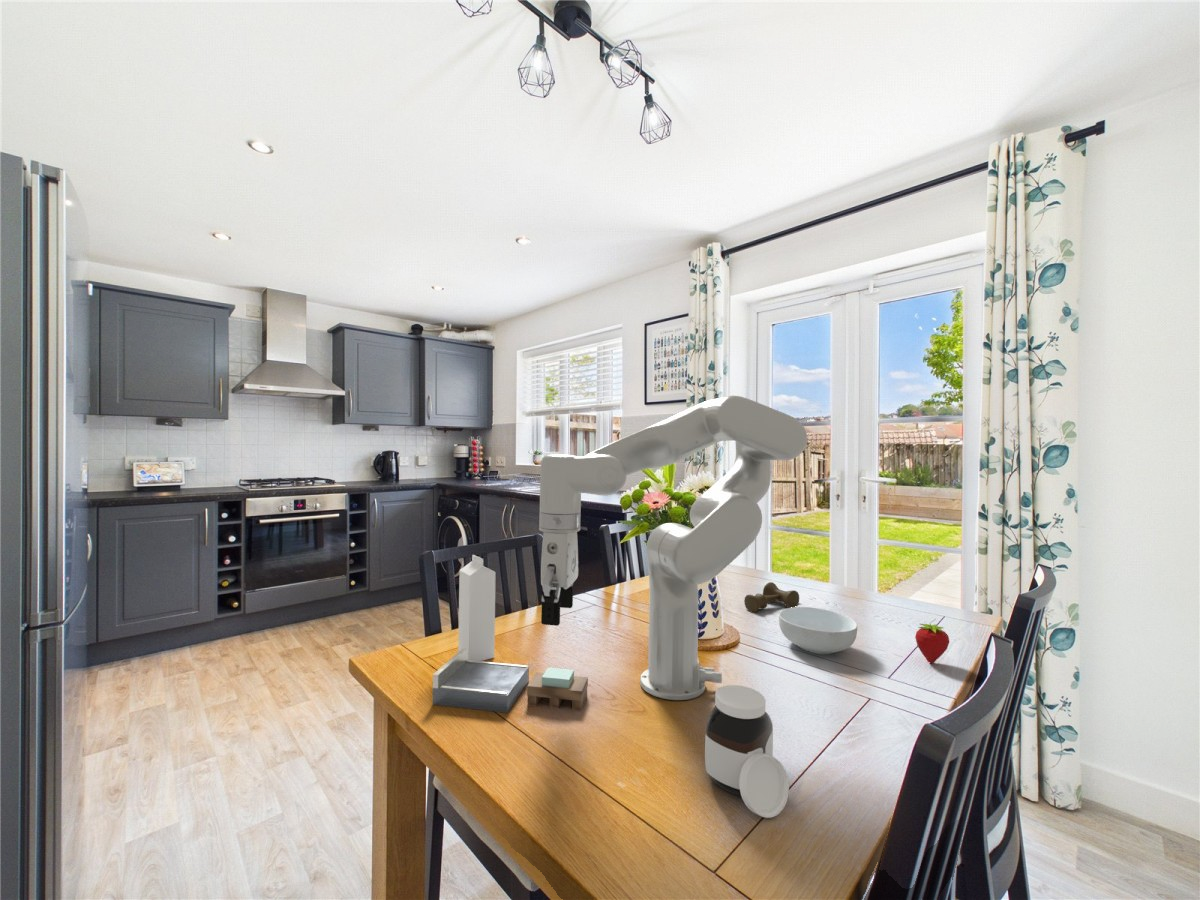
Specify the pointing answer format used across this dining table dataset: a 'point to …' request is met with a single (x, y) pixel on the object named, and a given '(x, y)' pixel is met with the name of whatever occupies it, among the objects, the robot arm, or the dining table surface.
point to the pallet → (558, 692)
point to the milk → (477, 610)
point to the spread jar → (745, 751)
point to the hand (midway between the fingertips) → (557, 615)
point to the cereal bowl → (817, 629)
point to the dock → (478, 684)
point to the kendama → (771, 598)
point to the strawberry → (932, 641)
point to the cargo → (558, 677)
